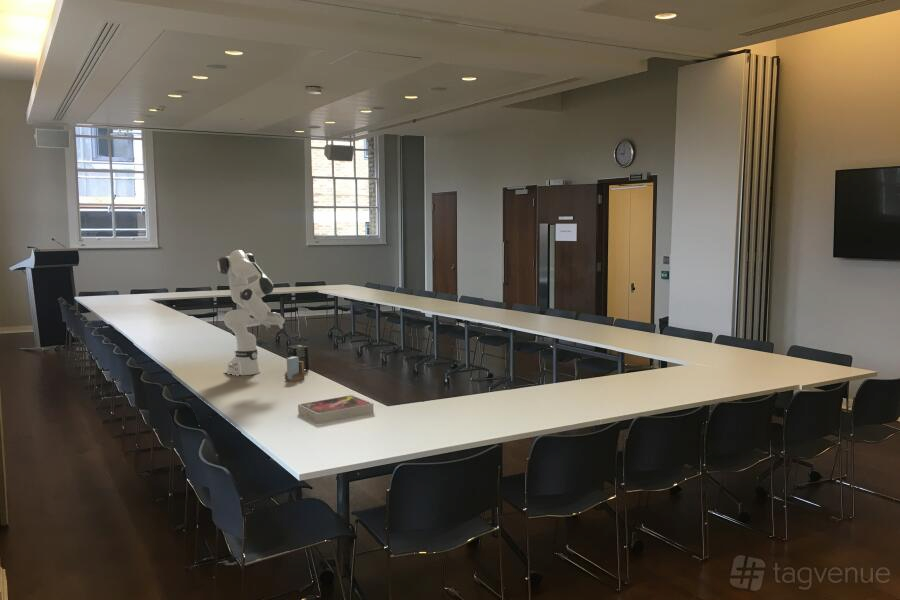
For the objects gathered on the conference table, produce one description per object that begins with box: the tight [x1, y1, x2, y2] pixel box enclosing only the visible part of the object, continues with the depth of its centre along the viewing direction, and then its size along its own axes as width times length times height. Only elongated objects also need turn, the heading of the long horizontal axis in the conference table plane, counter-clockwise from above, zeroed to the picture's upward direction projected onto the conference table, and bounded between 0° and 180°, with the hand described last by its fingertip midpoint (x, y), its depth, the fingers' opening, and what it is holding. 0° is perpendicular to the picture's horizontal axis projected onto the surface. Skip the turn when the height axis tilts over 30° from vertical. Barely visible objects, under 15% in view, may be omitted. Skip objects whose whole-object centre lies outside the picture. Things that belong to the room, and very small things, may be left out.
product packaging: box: [297, 394, 375, 424], centre depth 336 cm, size 22×28×5 cm
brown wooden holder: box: [284, 361, 305, 382], centre depth 410 cm, size 6×9×10 cm
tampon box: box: [286, 344, 310, 371], centre depth 437 cm, size 11×9×15 cm
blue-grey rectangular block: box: [286, 357, 299, 380], centre depth 409 cm, size 4×6×12 cm, turn 151°
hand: (275, 327), depth 402 cm, fingers open, 8 cm apart
